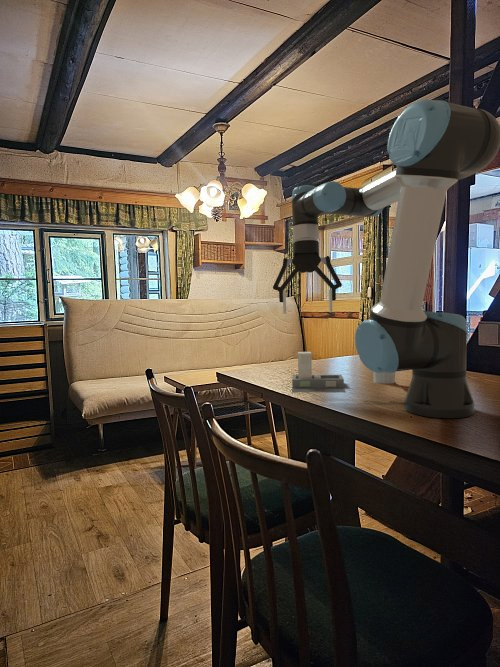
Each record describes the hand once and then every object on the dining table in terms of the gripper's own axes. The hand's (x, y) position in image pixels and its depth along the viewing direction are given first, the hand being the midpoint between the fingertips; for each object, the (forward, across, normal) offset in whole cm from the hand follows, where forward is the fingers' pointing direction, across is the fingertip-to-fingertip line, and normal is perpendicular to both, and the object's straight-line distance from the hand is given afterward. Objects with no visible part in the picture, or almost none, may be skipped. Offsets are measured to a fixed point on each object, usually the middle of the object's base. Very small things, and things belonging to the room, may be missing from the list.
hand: (307, 312), depth 130 cm
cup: (+23, -23, -6) cm, 33 cm away
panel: (+23, -2, -1) cm, 23 cm away
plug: (+22, +1, -1) cm, 22 cm away
